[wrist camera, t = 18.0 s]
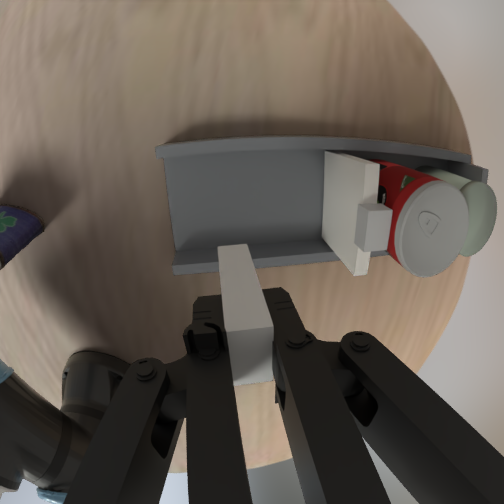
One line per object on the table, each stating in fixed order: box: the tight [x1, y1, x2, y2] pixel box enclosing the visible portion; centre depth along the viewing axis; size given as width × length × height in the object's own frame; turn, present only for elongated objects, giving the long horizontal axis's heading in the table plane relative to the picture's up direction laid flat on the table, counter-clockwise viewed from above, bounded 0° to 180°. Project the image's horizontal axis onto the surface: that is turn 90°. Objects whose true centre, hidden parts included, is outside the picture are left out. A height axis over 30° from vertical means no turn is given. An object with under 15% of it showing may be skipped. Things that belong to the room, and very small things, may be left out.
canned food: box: [368, 159, 469, 277], centre depth 22 cm, size 8×8×11 cm
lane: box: [155, 135, 488, 275], centre depth 25 cm, size 33×12×7 cm, turn 92°
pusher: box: [322, 151, 393, 276], centre depth 22 cm, size 2×9×10 cm, turn 2°
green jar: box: [414, 165, 497, 257], centre depth 24 cm, size 7×7×9 cm
